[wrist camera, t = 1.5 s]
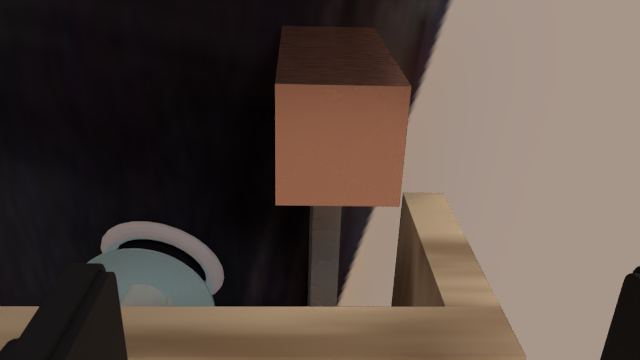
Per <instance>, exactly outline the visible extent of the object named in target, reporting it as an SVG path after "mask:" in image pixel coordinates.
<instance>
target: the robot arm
mask: <svg viewBox="0 0 640 360" xmlns="http://www.w3.org/2000/svg"><path fill="white" fill-rule="evenodd" d="M0 360H128V357H127V350H126V343H125V336H124V329H123V322H122V314H121V307H120V300H119V293H118V286H117V279H116V275H115V273H114V272H106V269H105V267H104V265H103V264H101V263H70V264H68V265H67V266H66V267H65V268H64V270H63V271H62V273H61V274H60V276H59V277H58V279H57V280H56V282H55V283H54V285H53V287H52V288H51V290H50V291H49V293H48V294H47V296H46V297H45V299H44V300H43V302H42V303H41V305H40V306H39V308H38V309H37V311H36V313H35V314H34V316H33V317H32V319H31V320H30V322H29V323H28V325H27V326H26V328H25V329H24V331H23V332H22V334H21V335H20V337H19V338H14V339H12V340H10V341H8V342H7V343H6V345H5V346H4V347H3V348H2V349H1V351H0ZM600 360H640V266H639V267H637V268H636V269H635V270H634V271H633V273H631V274H628V275H627V276H626V277H625V279H624V282H623V285H622V288H621V292H620V295H619V298H618V302H617V305H616V309H615V312H614V315H613V319H612V322H611V325H610V329H609V332H608V335H607V339H606V342H605V345H604V349H603V352H602V356H601V359H600Z"/></svg>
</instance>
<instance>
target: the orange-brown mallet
mask: <svg viewBox="0 0 640 360" xmlns="http://www.w3.org/2000/svg"><path fill="white" fill-rule="evenodd" d="M410 95H411V85H410V84H409V82H408V80H407V79H406V77H405V76H404V74H403V72H402V71H401V69H400V68H399V66H398V65H397V63H396V61H395V60H394V58H393V57H392V55H391V53H390V52H389V50H388V49H387V47H386V46H385V44H384V42H383V41H382V39H381V38H380V36H379V34H378V33H377V31H376V30H375V28H365V27H323V26H282V31H281V39H280V47H279V56H278V64H277V72H276V80H275V197H276V205H293V206H310V225H309V265H308V304H307V307H336V304H337V285H338V266H339V246H340V227H341V208H342V206H399V204H400V194H401V184H402V174H403V164H404V154H405V144H406V135H407V125H408V115H409V105H410Z"/></svg>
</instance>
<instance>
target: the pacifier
mask: <svg viewBox="0 0 640 360" xmlns="http://www.w3.org/2000/svg"><path fill="white" fill-rule="evenodd" d="M135 239H150V240H156V241H161V242H164V243H167V244H170V245H173V246H175V247H177V248H179V249H181V250H183V251H185V252H186V253H188V254H189V255H190V256H192V257H193V258H194V259H195V260H196V261H197V262H198V263H199V264H200V265H201V267H202V268H203V270H204V272H205V275H206V280H205V281H203V280H202V278H201V277H200V276H199V275H198V274H197V273H196V272H195V271H194V270H192V269H191V268H190V267H189V266H187V265H186V264H184V263H183V262H181V261H180V260H178V259H176V258H174V257H171V256H169V255H167V254H164V253H161V252H158V251H154V250H148V249H139V248H128V249H119V246H120V245H121V244H123V243H124V242H126V241H130V240H135ZM118 249H119V250H118ZM101 251H102V254H101V255H99V256H97V257H95V258H93V259H92V260H90V261H89V262H87V263H101V264H103V265H104V267H105V269H106V272H114V273H115V275H116V279H117V286H118V293H119V300H120V306H146V307H215V304H214V299H213V296H212V295H213V294H215V293H216V292H217V291H218V290H219V289H220V288H221V286H222V284H223V280H224V272H223V267H222V265H221V263H220V262H219V260H218V258H217V256H216V255H215V254H214V253H213V252H212V251H211V250H210V249H209V248H208V247H207V246H206V245H205V244H204V243H202V242H201V241H200V240H198V239H197V238H195V237H194V236H192V235H190V234H188V233H186V232H184V231H182V230H180V229H177V228H174V227H171V226H168V225H165V224H161V223H155V222H149V221H132V222H127V223H123V224H118V225H116V226H115V227H113V228H111V229H109V230H108V231H107V232H106V234H105V235H104V236H103V238H102V242H101Z"/></svg>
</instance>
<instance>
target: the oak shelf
mask: <svg viewBox="0 0 640 360" xmlns="http://www.w3.org/2000/svg"><path fill="white" fill-rule="evenodd" d="M120 307H121V314H122V322H123V329H124V336H125V343H126V350H127V357H128V360H525V358H526V355H525V353H524V351H523V349H522V347H521V345H520V344H519V342H518V339H517V337H516V335H515V334H514V332H513V330H512V328H511V326H510V324H509V322H508V320H507V318H506V316H505V314H504V312H503V310H502V308H501V306H500V304H499V302H498V300H497V298H496V296H495V294H494V292H493V290H492V289H491V286H490V284H489V282H488V281H487V278H486V277H485V275H484V273H483V271H482V269H481V267H480V265H479V263H478V261H477V259H476V257H475V255H474V253H473V251H472V249H471V247H470V245H469V243H468V241H467V239H466V237H465V235H464V233H463V232H462V229H461V228H460V225H459V224H458V222H457V220H456V218H455V216H454V214H453V212H452V210H451V208H450V206H449V204H448V202H447V200H446V198H445V196H444V194H443V193H403V199H402V208H401V218H400V228H399V238H398V247H397V257H396V267H395V277H394V287H393V297H392V306H391V307H146V306H120ZM38 308H39V306H0V351H1V349H2V348H3V347H4V346H5V345H6V343H7V342H8V341H10V340H12V339H14V338H19V337H20V335H21V334H22V332H23V331H24V329H25V328H26V326H27V325H28V323H29V322H30V320H31V319H32V317H33V316H34V314H35V313H36V311H37V309H38Z"/></svg>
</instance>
